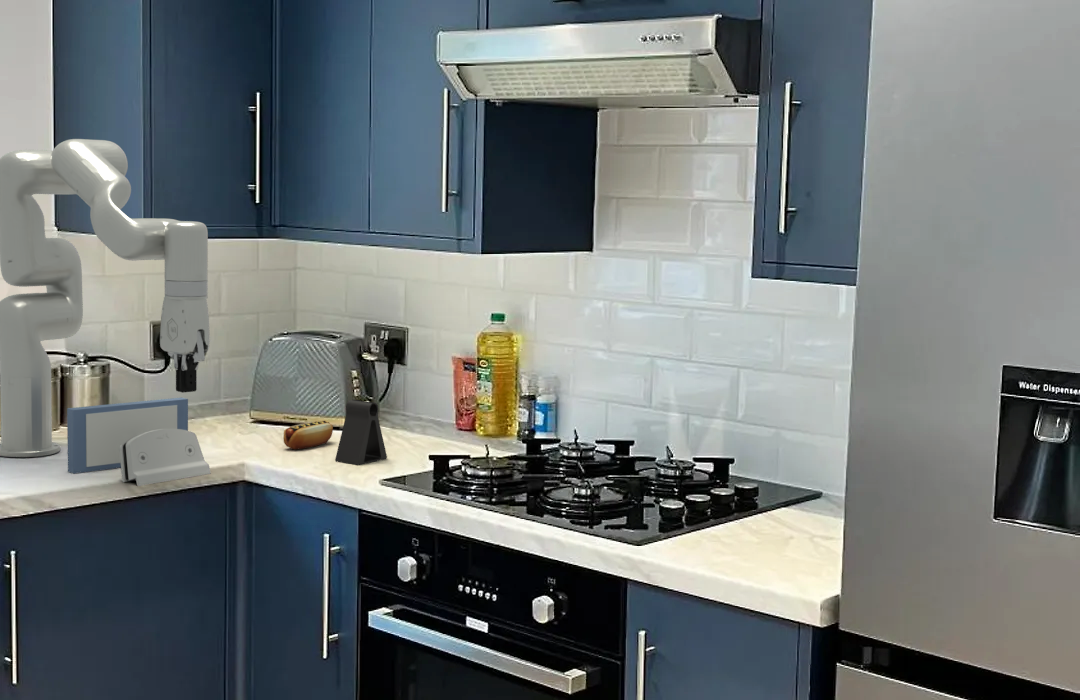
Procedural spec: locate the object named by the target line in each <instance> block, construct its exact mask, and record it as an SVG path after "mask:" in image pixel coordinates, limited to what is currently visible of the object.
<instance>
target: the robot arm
mask: <svg viewBox="0 0 1080 700" xmlns="http://www.w3.org/2000/svg"><path fill="white" fill-rule="evenodd" d="M128 164H129V163H128V158H127V156H126V153H125V151H124V150H123V149H122V148H121V146H120V145H118V144H117V143H115V142H113V141H110V140H105V139H87V138H85V139H84V138H72V139H71V138H70V139H66V140H64V141H62V142H60V143H58V144H57V145H56V146H55V147H54V149H53V150H45V149H44V150H43V149H20V150H14V151H9V152H7V153H5V154H4V155H2V156H1V157H0V273H1V277H2V279H3V280H4V281H5V283H6V284H8V285H10V286H14V287H19V288H20V287H21V288H22V287H28V288H29V287H42V286H43V287H46V292H31V293H16V294H12V295H8V296H7V297H4V298H2V299H1V300H0V457H7V458H34V457H35V458H37V457H44V456H51V455H54V454H57V453H59V452H60V451H61V445H60V444H59V443H57V442H54V441H53V429H52V427H53V423H52V422H53V417H52V367H51V366H52V365H51V361H50V360H51V359H50V358H49V355H48V354H47V351H46V350H45V348H44V346H43V345H42V342H43V341H51V340H53V341H54V340H60V339H68V338H72V337H73V336H74V335H77V333H78V332H79V331H80V329H81V327H82V324H83V319H84V318H83V316H84V315H83V314H84V313H83V312H84V309H83V308H84V306H83V304H84V303H83V301H84V300H83V270H82V269H83V268H82V260H81V257H80V255H79V254H80V253H79V252H78V250H77V248H76V246H75V245H74V244H73V243H72V242H71V241H70V240H68V239H65V238H60V237H46V230H45V215H44V213H43V211H42V208H41V206H40V205H39V203H38V201H37V200H36V199H35V197H33V195H67V196H68V195H69V196H71V195H77V196H79V198H80V199H81V200H83V201H84V203H85V204H86V205H88V206H89V208H90V213H89V214H90V215H89V217H90V223H91V226H92V230H93V232H94V234H95V235H96V237H97V238H98V239H99V241H100V242H102V243H103V244H104V246H105V247H106V248H107V249H108V250H110V252H112V253H113V254H115V255H116V256H117V257H118V258H121V259H123V260H126V261H135V262H136V261H151V260H154V261H162V260H164V297H163V301H162V306H161V307H162V308H161V315H160V329H159V330H160V331H159V332H160V333H159V344H160V345H159V346H160V348H161V349H162V350H163V351H164V352H167V354H168V356H170V357H171V358H172V359H173V367H174V369H175V391H176V392H179V393H191V392H196V391H197V390H198V389H197V387H198V386H197V371H198V369H199V364H200V363H201V362H204V361H206V356H205V354H206V353H208V352H209V350H210V341H211V339H210V338H211V337H210V314H209V306H208V301H207V299H208V293H209V292H208V282H209V281H208V273H209V270H208V267H209V266H208V265H209V264H208V262H209V261H208V259H209V258H208V254H209V253H208V252H209V251H208V246H209V244H208V243H209V242H208V240H209V239H208V236H209V234H208V228H207V226H206V224H205V223H203V222H200V221H192V220H189V221H188V220H186V221H185V220H177V219H173V218H155V217H153V218H152V217H151V218H147V217H146V218H145V217H144V218H143V217H142V218H141V217H140V218H131V217H129V216H127V214H125V213H124V212H123V211H122V209H123V208H124V207H125V205H126V204H128V203H127V202H128V201H129V199H130V197H131V193H132V186H131V183H130V181H129V180H128V178H127V177H126V175H127V172H128V169H129V167H128V166H129V165H128Z"/></svg>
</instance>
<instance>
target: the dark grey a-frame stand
mask: <svg viewBox="0 0 1080 700" xmlns="http://www.w3.org/2000/svg"><path fill="white" fill-rule="evenodd" d="M380 424H381V423H380V420H379V406H378V404H377V403H376V402H373V401H366V400H359V399H353V398H352V399H349V400H347V402H346V405H345V418H344V422H343V426H342V431H341V434H340V438H339V443H338V446H337V447H338V448H337V450H336V451H337V452H336V454H335V455H336V456H335V458H334V461H335V462H337V461H338V462H337V463H344V464H349V465H356V466H363V465H366V464H370V463H375V462H379V461H383V460H384V461H385V460H387V459H388V455H387V450H386V446H385V441H384V439H383V433H382V430H381V425H380Z"/></svg>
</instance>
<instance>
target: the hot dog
mask: <svg viewBox="0 0 1080 700" xmlns="http://www.w3.org/2000/svg"><path fill="white" fill-rule="evenodd" d="M333 429H334V427H333V424H331V423H330V422H329V421H328V420H320V421H316V420H315V421H311V422H305V423H299V424H295V425H291V426H289V427H287V428H286V429H284V430H283V444H284V445H285V446H286V447H287V448H289V449H292V450H301V449H308V448H312V447H313V448H315V447H318V446H321V445H324V444H326V443H328V441H329V440H331V438H332V436H333V432H334V430H333Z"/></svg>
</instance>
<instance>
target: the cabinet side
mask: <svg viewBox="0 0 1080 700" xmlns="http://www.w3.org/2000/svg"><path fill="white" fill-rule="evenodd" d="M66 410H67V411H66V412H67V413H66V420H67V422H66V424H67V426H66V430H67V472H69V473H71V474H81V473H90V472H96V471H104V470H112V469H119V468H120V469H121V462H120V451H119V448H120V446H121V445H122V444H123V443H124V442H126V441H127V440H129V439H131V438H133V437H135V436H137V435H140V434H143V433H145V432H148V431H153V430H158V429H182V430H187V431H189V399H188V398H185V397H174V398H164V399H163V398H161V399H153V400H152V399H151V400H142V401H131V402H129V401H128V402H120V403H119V402H118V403H110V404H99V405H88V406H79V407H68V408H66Z"/></svg>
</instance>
